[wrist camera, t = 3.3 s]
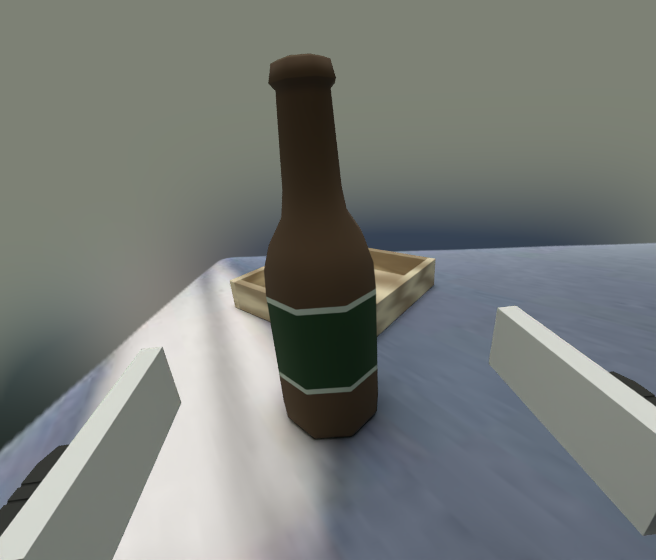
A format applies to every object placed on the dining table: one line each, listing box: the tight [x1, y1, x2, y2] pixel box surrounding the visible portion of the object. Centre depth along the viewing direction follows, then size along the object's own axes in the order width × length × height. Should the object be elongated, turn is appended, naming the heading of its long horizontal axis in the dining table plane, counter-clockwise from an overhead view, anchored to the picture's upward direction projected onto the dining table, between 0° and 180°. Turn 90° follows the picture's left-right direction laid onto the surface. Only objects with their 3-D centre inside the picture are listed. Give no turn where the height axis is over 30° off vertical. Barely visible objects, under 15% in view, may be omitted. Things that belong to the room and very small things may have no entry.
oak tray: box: [230, 248, 435, 336], centre depth 44 cm, size 20×20×4 cm
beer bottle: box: [264, 54, 378, 439], centre depth 22 cm, size 8×8×24 cm
